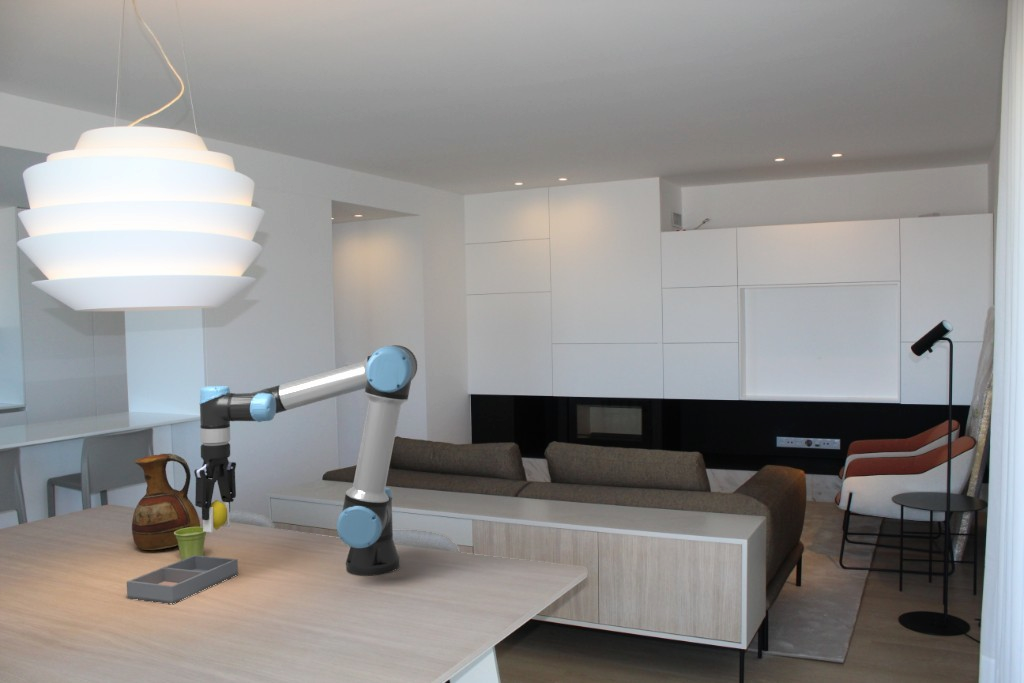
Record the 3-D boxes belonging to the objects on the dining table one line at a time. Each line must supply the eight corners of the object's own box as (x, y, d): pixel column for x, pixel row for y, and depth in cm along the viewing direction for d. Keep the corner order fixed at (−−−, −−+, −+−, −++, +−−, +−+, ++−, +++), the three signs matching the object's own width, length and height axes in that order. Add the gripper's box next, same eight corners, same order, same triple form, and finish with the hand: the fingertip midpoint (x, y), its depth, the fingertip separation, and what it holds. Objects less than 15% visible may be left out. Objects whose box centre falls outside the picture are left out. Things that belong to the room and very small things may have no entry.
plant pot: (186, 565, 241) (185, 536, 240) (168, 560, 246) (167, 531, 246) (214, 557, 248) (213, 529, 248) (197, 552, 254) (196, 525, 253)
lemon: (201, 530, 220) (201, 501, 219) (217, 526, 224) (217, 497, 224) (215, 533, 217) (215, 503, 217) (232, 528, 222) (231, 499, 222)
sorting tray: (237, 575, 230) (237, 559, 230) (172, 604, 207) (172, 587, 207) (195, 570, 235) (194, 555, 235) (127, 598, 212) (126, 581, 212)
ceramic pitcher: (132, 543, 267) (129, 452, 266) (198, 535, 275) (195, 446, 274) (132, 558, 249) (129, 461, 248) (203, 549, 257) (200, 455, 256)
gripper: (227, 437, 230) (228, 519, 231) (178, 447, 213) (180, 535, 213) (249, 439, 227) (250, 521, 228) (201, 449, 210) (202, 538, 211)
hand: (216, 528), depth 221 cm, fingers closed on lemon, 5 cm apart
